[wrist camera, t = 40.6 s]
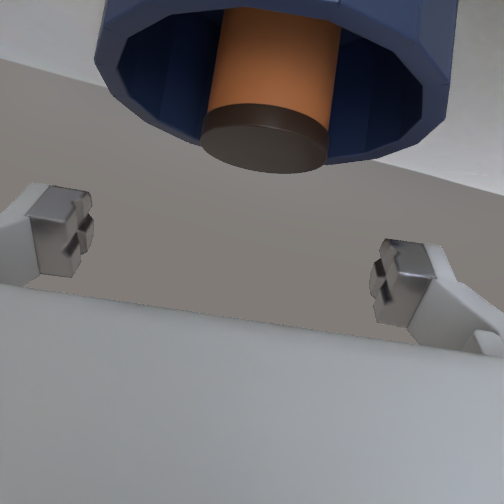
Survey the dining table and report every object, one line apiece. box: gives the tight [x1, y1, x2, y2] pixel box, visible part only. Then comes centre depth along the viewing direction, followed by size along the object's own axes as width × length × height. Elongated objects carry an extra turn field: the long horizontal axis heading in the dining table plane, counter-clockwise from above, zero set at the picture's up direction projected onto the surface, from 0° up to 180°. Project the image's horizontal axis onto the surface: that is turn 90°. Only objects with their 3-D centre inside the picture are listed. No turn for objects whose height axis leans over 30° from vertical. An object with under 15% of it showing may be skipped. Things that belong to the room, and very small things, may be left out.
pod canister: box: [200, 7, 342, 174], centre depth 18 cm, size 5×5×8 cm
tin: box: [94, 0, 458, 165], centre depth 18 cm, size 13×13×7 cm
